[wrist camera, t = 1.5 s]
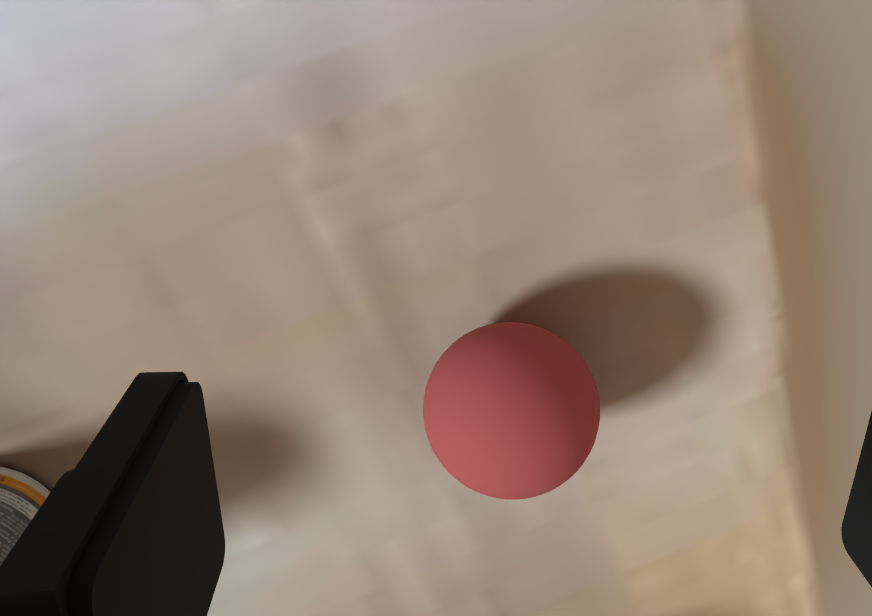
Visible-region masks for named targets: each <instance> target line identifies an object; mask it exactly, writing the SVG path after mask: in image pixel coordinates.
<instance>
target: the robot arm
mask: <svg viewBox="0 0 872 616" xmlns="http://www.w3.org/2000/svg"><path fill="white" fill-rule="evenodd" d="M841 530H842V540H843V544H844V546H845V549H846V551H847V553H848V554H849V556H850V557H851V558H852V560H853V561H854V563H855V564H856V566H857V567H858V568H859V570H860V571H861V573H862V574H863V575H864V577H865V578H866V580H867V581H868V582H869V584H870V585H871V587H872V412H871V416H870V420H869V424H868V428H867V432H866V435H865V439H864V443H863V446H862V450H861V454H860V458H859V462H858V466H857V469H856V473H855V477H854V481H853V485H852V489H851V493H850V496H849V500H848V504H847V508H846V512H845V515H844V519H843V523H842V529H841ZM224 555H225V537H224V530H223V524H222V517H221V510H220V504H219V497H218V491H217V484H216V478H215V471H214V465H213V458H212V451H211V445H210V438H209V432H208V425H207V419H206V412H205V406H204V399H203V393H202V388H201V386H200V384H199V383H198V382H188V379H187V377H186V375H185V374H184V373H183V372H146V373H139V374H138V375H137V376H136V377H135V379H134V380H133V382H132V383H131V385H130V386H129V388H128V389H127V391H126V392H125V394H124V395H123V397H122V398H121V400H120V401H119V403H118V404H117V406H116V407H115V409H114V410H113V412H112V413H111V415H110V416H109V418H108V419H107V421H106V422H105V424H104V425H103V427H102V428H101V430H100V431H99V433H98V434H97V436H96V437H95V439H94V440H93V442H92V443H91V445H90V446H89V448H88V449H87V451H86V452H85V454H84V455H83V457H82V458H81V460H80V461H79V463H78V464H77V466H76V467H75V469H73V470H70V471H67V472H66V473H65V474H64V475H63V476H62V477H61V478H60V479H59V481H58V482H57V483H56V485H55V486H54V488H53V489H52V491H51V492H50V494H49V495H48V497H47V498H46V500H45V501H44V503H43V504H42V505H41V507H40V508H39V510H38V511H37V513H36V514H35V516H34V517H33V519H32V520H31V522H30V523H29V525H28V526H27V527H26V529H25V530H24V532H23V533H22V535H21V536H20V538H19V539H18V541H17V542H16V544H15V545H14V547H13V548H12V549H11V551H10V552H9V554H8V555H7V557H6V558H5V560H4V561H3V563H2V564H1V566H0V616H207V613H208V610H209V607H210V604H211V601H212V597H213V594H214V591H215V588H216V585H217V582H218V579H219V576H220V572H221V569H222V566H223V562H224Z"/></svg>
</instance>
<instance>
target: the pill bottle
mask: <svg viewBox="0 0 872 616" xmlns="http://www.w3.org/2000/svg"><path fill="white" fill-rule="evenodd" d="M49 494H50V491H49V490H48V489H47V488H46V487H44V486H43V485H42V484H40V483H39V482H38V481H36V480H35V479H33V478H31V477H29V476H27V475H25V474H23V473H21V472H18V471H15V470H11V469H8V468H5V467H0V566H1V564H2V563H3V561H4V560H5V558H6V557H7V555H8V554H9V552H10V551H11V549H12V548H13V547H14V545H15V544H16V542H17V541H18V539H19V538H20V536H21V535H22V533H23V532H24V530H25V529H26V527H27V526H28V525H29V523H30V522H31V520H32V519H33V517H34V516H35V514H36V513H37V511H38V510H39V508H40V507H41V505H42V504H43V503H44V501H45V500H46V498H47V497H48V495H49Z"/></svg>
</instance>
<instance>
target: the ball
mask: <svg viewBox="0 0 872 616" xmlns="http://www.w3.org/2000/svg"><path fill="white" fill-rule="evenodd" d="M423 416H424V424H425V430H426V433H427V437H428V440H429V442H430V445H431V447H432V449H433V451H434V453H435V455H436V456H437V458H438V459H439V461H440V462H441V464H442V465H443V466H444V468H445V469H446V470H447V471H448V472H449V473H450V474H451V475H452V476H453V477H454V478H456V479H457V480H458V481H459V482H461V483H462V484H464V485H465V486H467V487H468V488H470V489H472V490H474V491H476V492H479V493H481V494H484V495H487V496H491V497H495V498H500V499H526V498H531V497H535V496H538V495H541V494H544V493H547V492H549V491H551V490H553V489H555V488H557V487H558V486H560V485H561V484H563V483H564V482H565V481H567V480H568V479H569V478H570V477H571V476H572V475H573V474H575V473H576V472H577V471H578V469H579V468H580V467H581V466H582V464H583V463H584V461H585V460H586V458H587V457H588V455H589V453H590V451H591V449H592V447H593V445H594V442H595V439H596V435H597V432H598V427H599V420H600V406H599V397H598V392H597V388H596V385H595V382H594V379H593V376H592V374H591V372H590V370H589V369H588V367H587V365H586V363H585V362H584V360H583V359H582V358H581V356H580V355H579V354H578V353H577V352H576V351H575V350H574V349H573V348H572V347H571V346H570V345H569V344H568V343H567V342H566V341H565V340H563V339H562V338H561V337H559V336H557V335H556V334H554V333H552V332H550V331H548V330H546V329H543V328H541V327H538V326H535V325H531V324H527V323H520V322H503V323H495V324H490V325H486V326H483V327H480V328H477V329H475V330H473V331H471V332H469V333H467V334H465V335H464V336H462V337H461V338H459V339H458V340H457V341H455V342H454V343H453V344H452V345H451V346H450V347H449V348H448V349H447V350H446V351H445V352H444V353H443V355H442V356H441V357H440V359H439V360H438V361H437V363H436V364H435V366H434V368H433V370H432V372H431V375H430V377H429V380H428V383H427V386H426V390H425V395H424V402H423Z"/></svg>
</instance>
